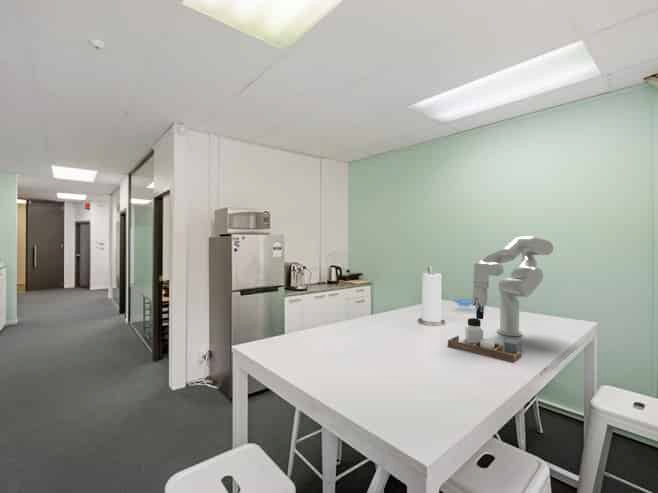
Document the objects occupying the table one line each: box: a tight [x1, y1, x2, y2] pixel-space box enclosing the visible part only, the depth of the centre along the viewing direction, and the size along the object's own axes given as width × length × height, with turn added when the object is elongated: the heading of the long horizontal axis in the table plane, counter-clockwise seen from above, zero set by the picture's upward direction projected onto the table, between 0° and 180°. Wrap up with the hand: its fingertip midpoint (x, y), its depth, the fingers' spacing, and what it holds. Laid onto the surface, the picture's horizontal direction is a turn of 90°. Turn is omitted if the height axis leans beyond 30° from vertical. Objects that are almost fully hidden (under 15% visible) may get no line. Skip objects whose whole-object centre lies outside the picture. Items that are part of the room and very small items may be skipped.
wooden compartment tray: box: [447, 335, 522, 363], centre depth 151 cm, size 11×30×3 cm, turn 45°
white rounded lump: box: [480, 338, 496, 350], centre depth 150 cm, size 6×6×5 cm
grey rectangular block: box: [503, 337, 523, 355], centre depth 150 cm, size 9×5×5 cm, turn 135°
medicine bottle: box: [464, 317, 484, 344], centre depth 165 cm, size 7×7×12 cm
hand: (479, 318), depth 172 cm, fingers closed
